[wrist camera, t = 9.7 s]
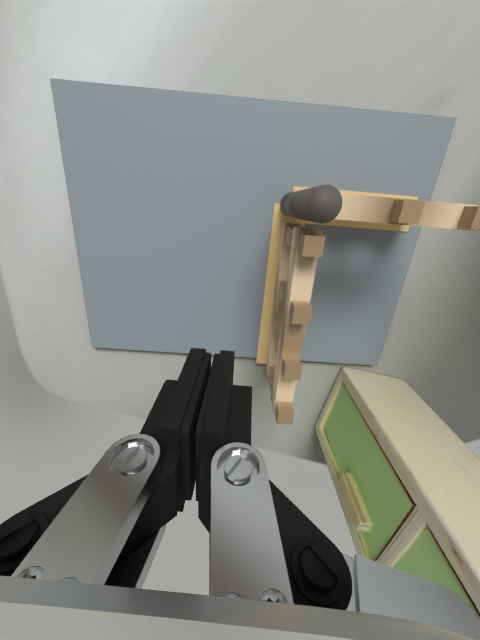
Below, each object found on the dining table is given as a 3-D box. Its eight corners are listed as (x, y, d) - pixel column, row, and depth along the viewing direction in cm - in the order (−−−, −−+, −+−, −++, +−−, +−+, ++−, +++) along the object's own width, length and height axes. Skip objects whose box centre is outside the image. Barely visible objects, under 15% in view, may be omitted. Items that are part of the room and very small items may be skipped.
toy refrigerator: (334, 361, 26) (630, 848, 6) (405, 377, 26) (868, 857, 7) (306, 425, 29) (446, 885, 9) (370, 437, 29) (625, 888, 10)
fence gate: (281, 221, 20) (303, 230, 13) (298, 223, 20) (328, 232, 13) (265, 364, 24) (275, 423, 18) (278, 364, 24) (293, 424, 18)
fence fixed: (406, 202, 20) (518, 201, 12) (399, 225, 21) (502, 238, 13) (280, 191, 20) (309, 182, 12) (277, 215, 20) (303, 222, 12)
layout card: (451, 119, 18) (457, 117, 18) (373, 367, 26) (376, 370, 25) (55, 81, 17) (49, 77, 17) (95, 349, 25) (92, 352, 24)
